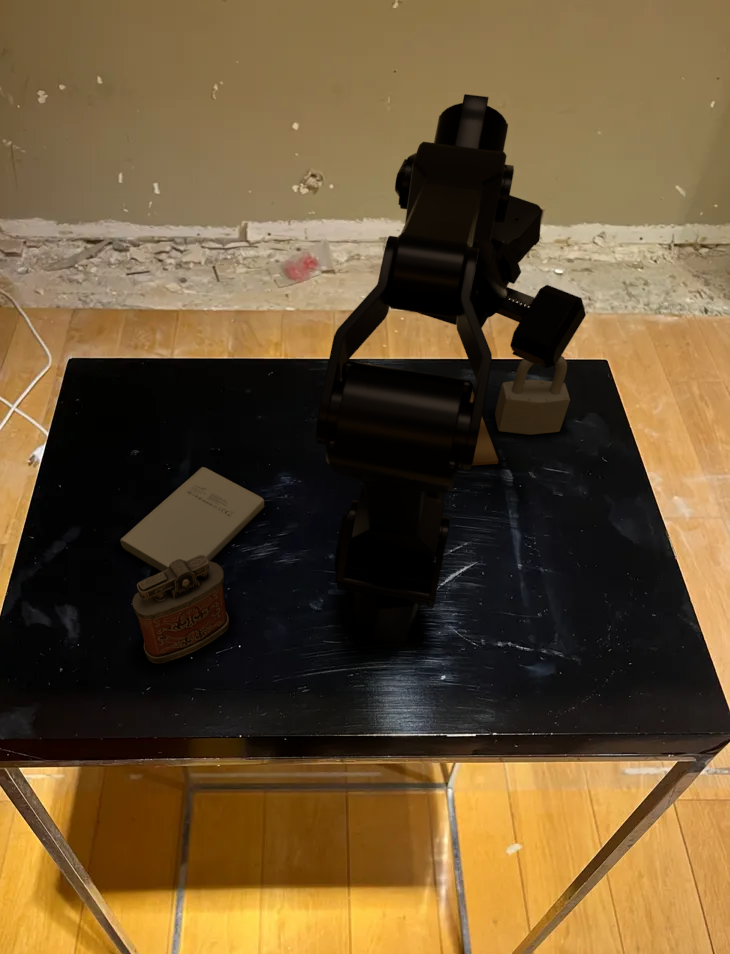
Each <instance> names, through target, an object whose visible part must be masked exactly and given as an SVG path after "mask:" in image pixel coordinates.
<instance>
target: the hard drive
mask: <svg viewBox="0 0 730 954" xmlns="http://www.w3.org/2000/svg"><path fill="white" fill-rule="evenodd" d="M264 508H265V500H264V498H263V497H261V496H260V495H258V494H256V493H255V492H253V491H250V490H248V489H247V488H244V487H242V486H241V485H239V484H237V483H235V482H233V481H231V480H230V479H228V478H226V477H224V476H222V475H220V474H218V473H216V472H214V471H213V470H211V469H209V468H207V467H204V466H201V467H200V468H199V469H198V470H197V471H196V472H194V474H193V475H191V476H190V477H189V478H188V479H187V480H186V481H185V482H184V483H182V484H181V485H180V486H178V488H177V489H175V490H174V491H173V492H172V493H170V495H169V496H168V497H166V498H165V499H164V500H163V501H162V502H161V503H160V504H158V505H157V506H156V507H155V508H154V509H153V510H152V511H151V512H149V513H148V514H147V515H146V516H145V517H144V518H143V519H141V520H140V521H139V522H138V523H137V524H136V525H135V526H134V527H133V528H131V529H130V530H129V531H128V532H127V533H126V534H125V535H124V536H123V537H121V538H120V545H121V548H122V549H123V550H125V551H126V552H128V553H129V554H131V555H133V556H134V557H136V558H137V559H139V560H140V561H142V562H144V563H146V564H148V565H149V566H151V567H152V568H154V569H156V570H157V571H160V573H161V572H163V571H165V570H167V568H168V567H169V565H170V564H171V563H172V562H173V561H176V560H178V559H182V560H185V561H187V560H189V559H192V558H194V557H196V556H198V555H205V556H206V558H207V559H208V562H209V561H210V562H212V560H213V559H214V558H215V557H216V556H217V555H218V554H219V553H220V552H222V550H223V549H224V548H225V547H226V546H227V545H228V544H229V543H230V542H231V541H232V540H233V539H234V538H235V537H236V536H237V535H238V534H240V532H241V531H242V530H243V529H244V528H245V527H246V526H247V525H248V524H249V523H250V522H251V521H252V520H253V519H254V518H255V517H256V516H257V515H258V514H259V513H260V512H261V511H262V510H263V509H264Z"/></svg>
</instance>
